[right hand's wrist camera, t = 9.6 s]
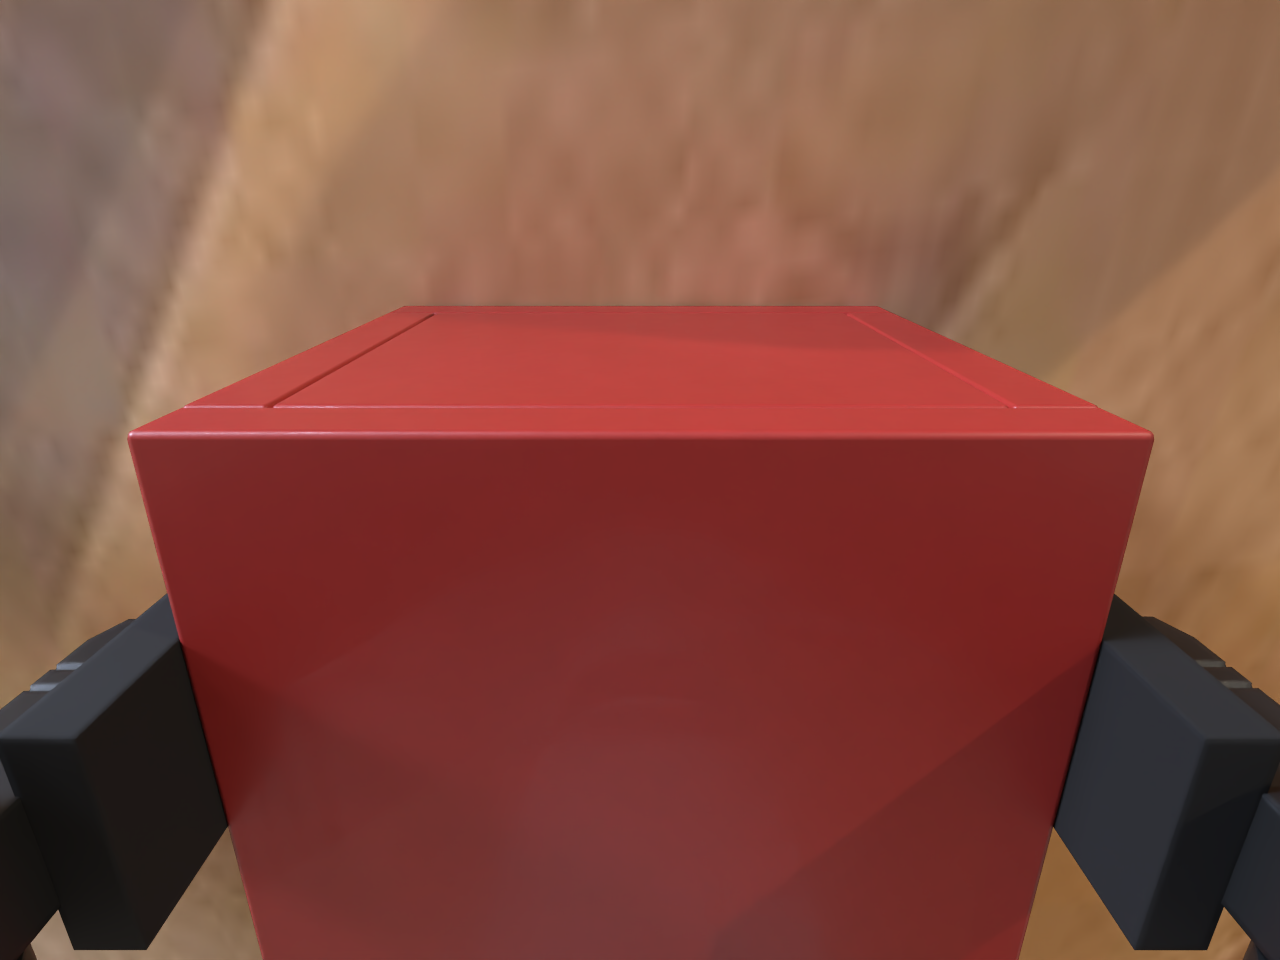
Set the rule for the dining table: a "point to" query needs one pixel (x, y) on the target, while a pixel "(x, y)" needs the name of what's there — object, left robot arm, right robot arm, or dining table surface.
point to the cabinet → (640, 631)
